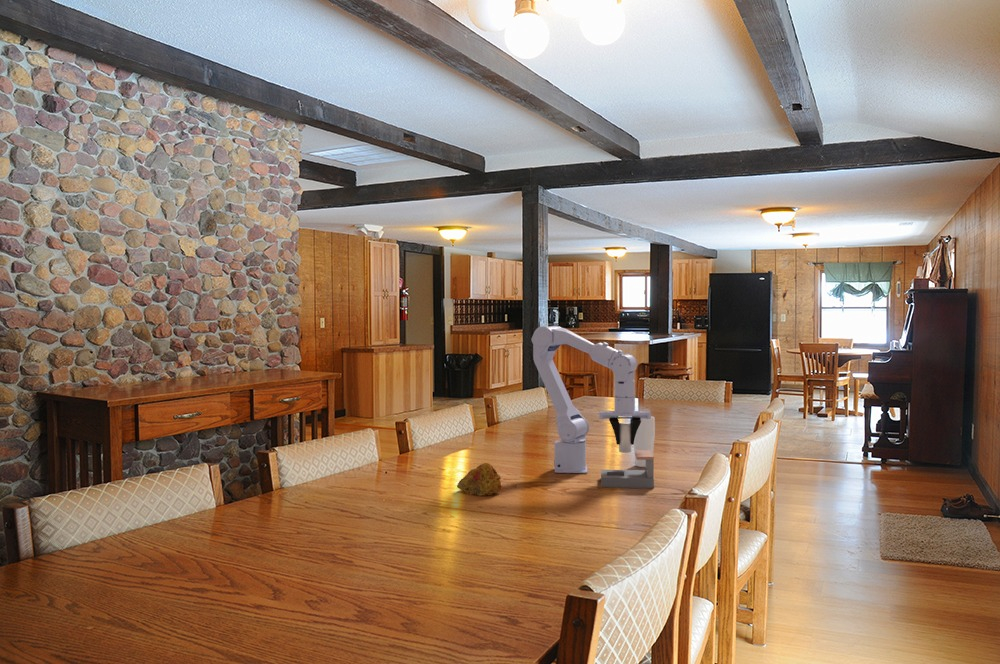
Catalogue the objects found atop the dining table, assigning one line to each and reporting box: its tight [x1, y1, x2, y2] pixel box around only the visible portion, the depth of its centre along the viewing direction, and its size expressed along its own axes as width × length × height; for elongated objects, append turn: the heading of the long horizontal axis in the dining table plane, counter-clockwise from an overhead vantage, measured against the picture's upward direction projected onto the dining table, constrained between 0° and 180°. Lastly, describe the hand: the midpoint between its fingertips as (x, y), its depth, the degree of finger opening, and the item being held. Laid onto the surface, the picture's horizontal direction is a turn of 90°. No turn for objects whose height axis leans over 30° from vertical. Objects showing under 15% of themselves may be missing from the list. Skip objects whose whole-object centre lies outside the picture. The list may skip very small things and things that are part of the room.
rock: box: [456, 462, 503, 497], centre depth 193 cm, size 11×8×10 cm
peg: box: [618, 422, 632, 454], centre depth 207 cm, size 3×3×8 cm
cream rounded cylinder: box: [633, 415, 656, 468], centre depth 221 cm, size 7×7×15 cm
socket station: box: [600, 450, 655, 489], centre depth 200 cm, size 14×10×8 cm
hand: (624, 443), depth 208 cm, fingers closed on peg, 3 cm apart
